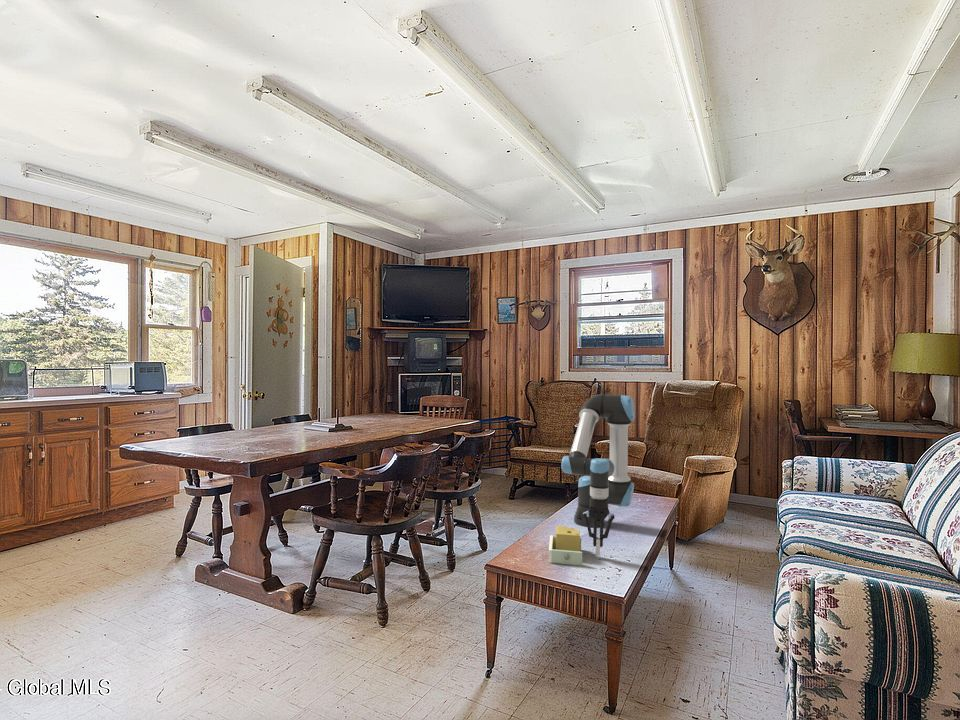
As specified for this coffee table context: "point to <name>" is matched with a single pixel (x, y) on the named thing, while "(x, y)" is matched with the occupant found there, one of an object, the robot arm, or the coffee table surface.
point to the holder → (563, 554)
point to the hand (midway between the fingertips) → (597, 554)
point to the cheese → (567, 539)
